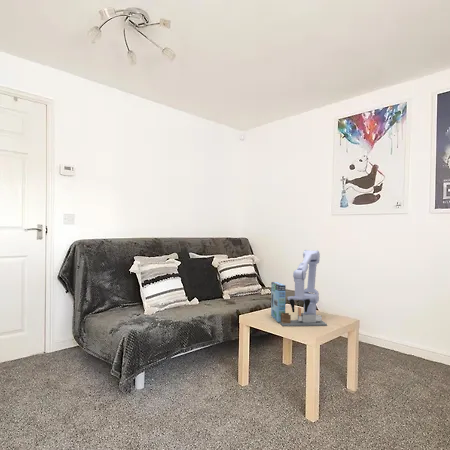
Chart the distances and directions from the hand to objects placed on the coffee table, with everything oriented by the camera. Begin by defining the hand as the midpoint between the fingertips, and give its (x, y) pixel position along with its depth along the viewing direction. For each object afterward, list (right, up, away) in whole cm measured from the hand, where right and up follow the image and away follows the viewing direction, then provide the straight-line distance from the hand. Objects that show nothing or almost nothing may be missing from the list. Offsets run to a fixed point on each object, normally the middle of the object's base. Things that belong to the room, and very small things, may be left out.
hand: (299, 311), depth 202 cm
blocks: (+6, -5, 0) cm, 8 cm away
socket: (-9, -7, -1) cm, 11 cm away
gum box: (-11, -8, +11) cm, 18 cm away
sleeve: (+5, -6, 0) cm, 8 cm away
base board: (+2, -7, 0) cm, 8 cm away
